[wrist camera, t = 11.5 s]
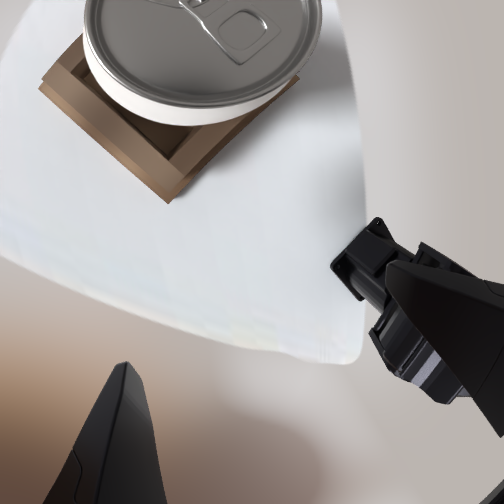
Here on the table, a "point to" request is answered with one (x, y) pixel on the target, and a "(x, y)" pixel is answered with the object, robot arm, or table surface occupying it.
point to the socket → (138, 127)
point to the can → (197, 54)
